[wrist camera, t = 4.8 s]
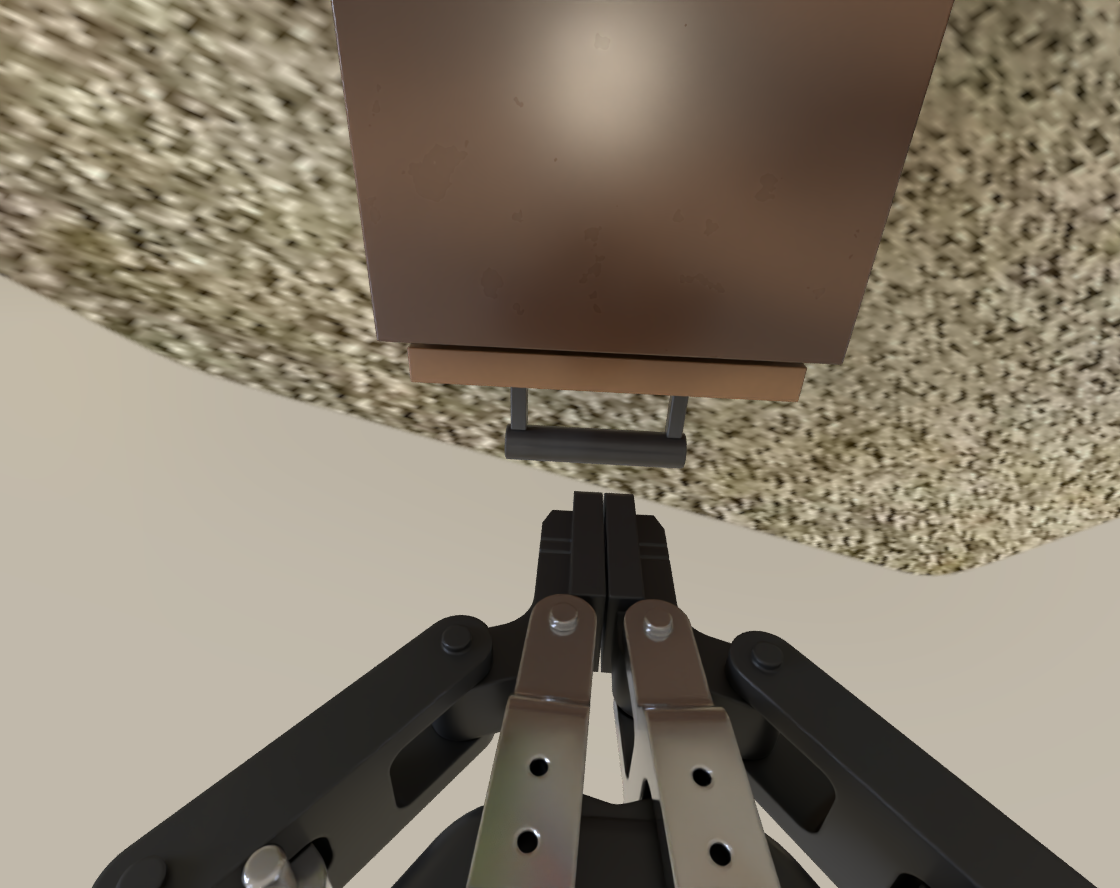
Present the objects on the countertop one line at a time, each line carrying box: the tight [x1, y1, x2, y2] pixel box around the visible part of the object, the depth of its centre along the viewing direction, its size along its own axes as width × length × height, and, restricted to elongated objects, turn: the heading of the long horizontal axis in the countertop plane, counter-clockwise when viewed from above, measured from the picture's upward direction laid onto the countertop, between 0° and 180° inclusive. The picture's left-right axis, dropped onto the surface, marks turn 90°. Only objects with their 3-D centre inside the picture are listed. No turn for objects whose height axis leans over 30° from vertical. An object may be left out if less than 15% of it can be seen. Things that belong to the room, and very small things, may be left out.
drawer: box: [407, 343, 807, 468], centre depth 20 cm, size 18×12×8 cm
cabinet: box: [331, 0, 954, 365], centre depth 17 cm, size 15×14×10 cm
